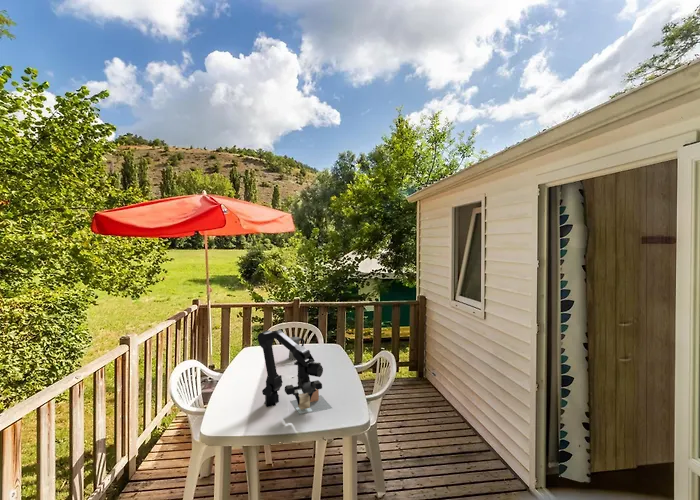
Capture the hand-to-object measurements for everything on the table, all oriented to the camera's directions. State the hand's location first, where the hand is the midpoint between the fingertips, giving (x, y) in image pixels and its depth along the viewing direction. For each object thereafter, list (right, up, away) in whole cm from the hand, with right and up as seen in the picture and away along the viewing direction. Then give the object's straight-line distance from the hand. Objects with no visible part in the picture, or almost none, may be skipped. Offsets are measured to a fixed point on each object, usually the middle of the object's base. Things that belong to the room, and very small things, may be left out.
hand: (303, 403), depth 192 cm
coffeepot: (-17, -2, +88) cm, 89 cm away
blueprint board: (+3, -4, +6) cm, 8 cm away
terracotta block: (+4, -3, +12) cm, 13 cm away
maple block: (0, -2, 0) cm, 2 cm away
